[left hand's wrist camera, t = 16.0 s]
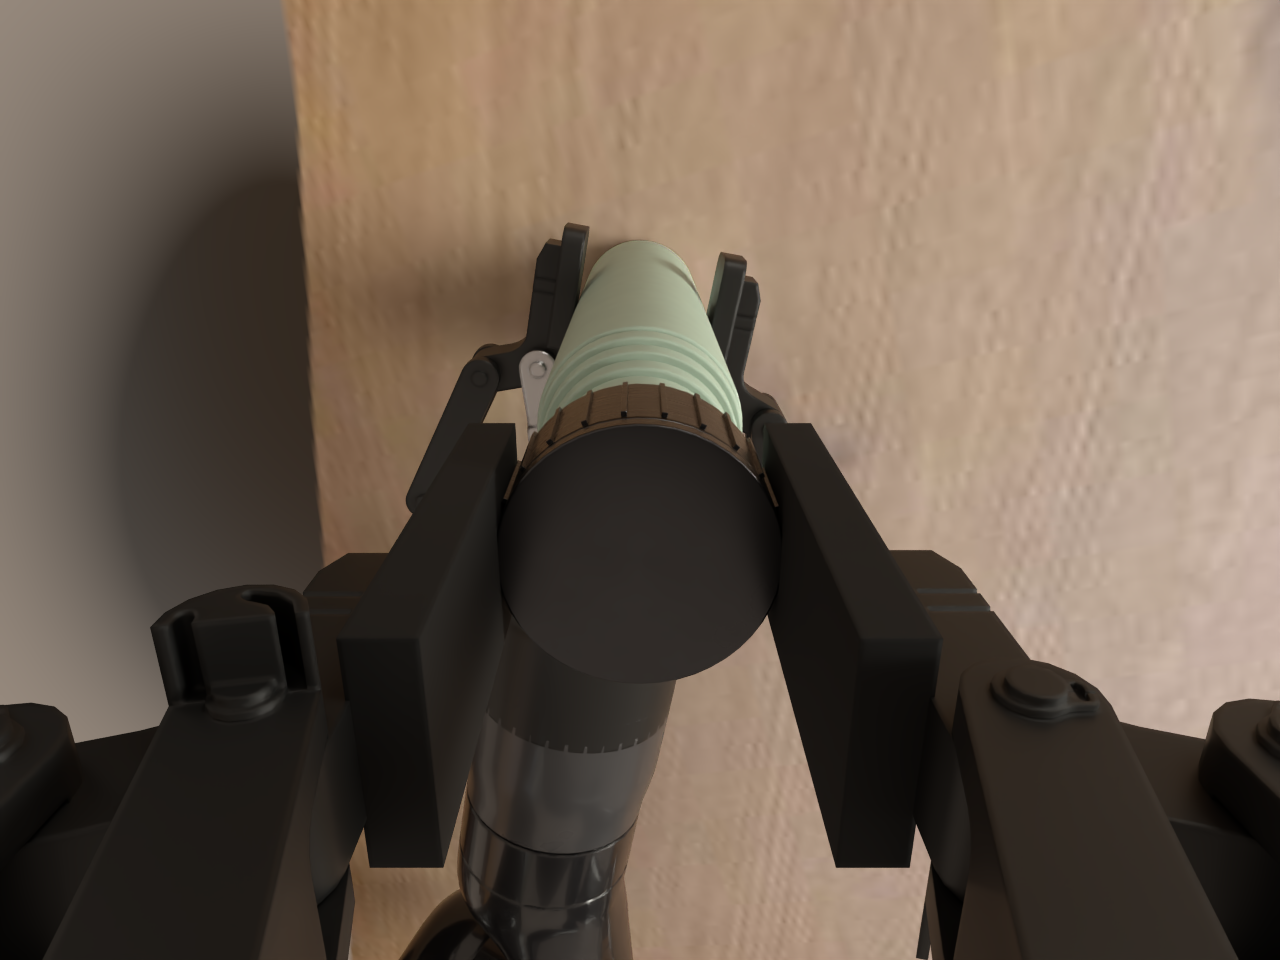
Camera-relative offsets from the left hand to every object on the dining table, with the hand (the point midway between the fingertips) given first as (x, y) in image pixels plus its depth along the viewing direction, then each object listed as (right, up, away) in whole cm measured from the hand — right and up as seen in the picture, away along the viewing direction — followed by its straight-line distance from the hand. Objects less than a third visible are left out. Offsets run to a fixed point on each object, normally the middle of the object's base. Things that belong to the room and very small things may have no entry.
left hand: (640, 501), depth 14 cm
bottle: (0, +8, +20) cm, 21 cm away
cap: (0, -1, -2) cm, 2 cm away
